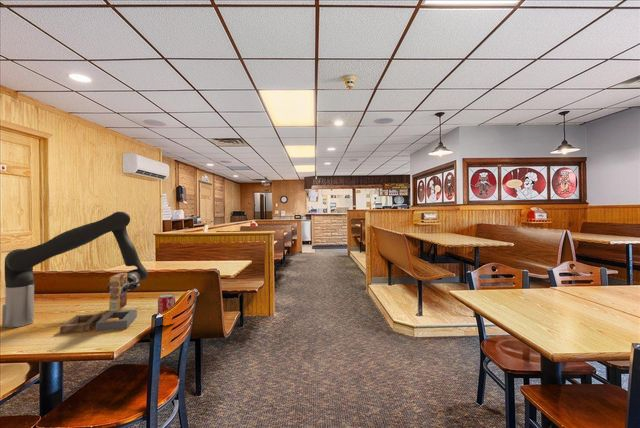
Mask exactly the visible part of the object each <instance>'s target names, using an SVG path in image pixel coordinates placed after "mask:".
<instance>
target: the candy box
mask: <svg viewBox="0 0 640 428" xmlns="http://www.w3.org/2000/svg"><path fill="white" fill-rule="evenodd" d="M109 283H110V292H109V297H108V298H109V302H108V303H109V304H108V307H109V308H108V312H109V311H121V310H122V309H123V308H125V306H127V305H128V303H127V301H128V297H127V296H128V291H126V292H123V287H124V286H126V285H127V272H117V273H116V274H114V275H112V276H109Z"/></svg>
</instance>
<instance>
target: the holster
mask: <svg viewBox="0 0 640 428" xmlns="http://www.w3.org/2000/svg"><path fill="white" fill-rule="evenodd" d="M102 317H103V313H93V314H92V313H91V314H78V315H75V316H74V317H72V318H70V319H69V320H68V321H66V322H65V323H64V324H62V325H60V327H59V334H60V335H63V334H76V333H87V332H88V333H89V332H90V331H92V329H93V328H94V327H96V323H97V322H98V321H99V320H100V319H101V318H102Z"/></svg>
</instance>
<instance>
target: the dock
mask: <svg viewBox="0 0 640 428" xmlns="http://www.w3.org/2000/svg"><path fill="white" fill-rule="evenodd" d="M137 318H138V309H137V308H136V309H123V310H122V309H121V310H119V311H109V310H108V312H107V313H106V314H105V315H103V316H102V318H101V319H100V320H99V321H98V322H97V323H96V326H95V332H104V331H105V332H106V331H116V330H117V331H118V330H124V329H126V330H127V329H128V328H129V327H130V326H131V324H133V322H134V321H135V320H136V319H137Z"/></svg>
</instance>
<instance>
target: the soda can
mask: <svg viewBox="0 0 640 428" xmlns="http://www.w3.org/2000/svg"><path fill="white" fill-rule="evenodd" d="M174 304H175V305H176V296H175V294H174V293H164V294H159V296H158V298H157V314H158V313H162V312H164V311H166V310H168V309H169V308H171V307H172V306H173V305H174Z"/></svg>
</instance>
